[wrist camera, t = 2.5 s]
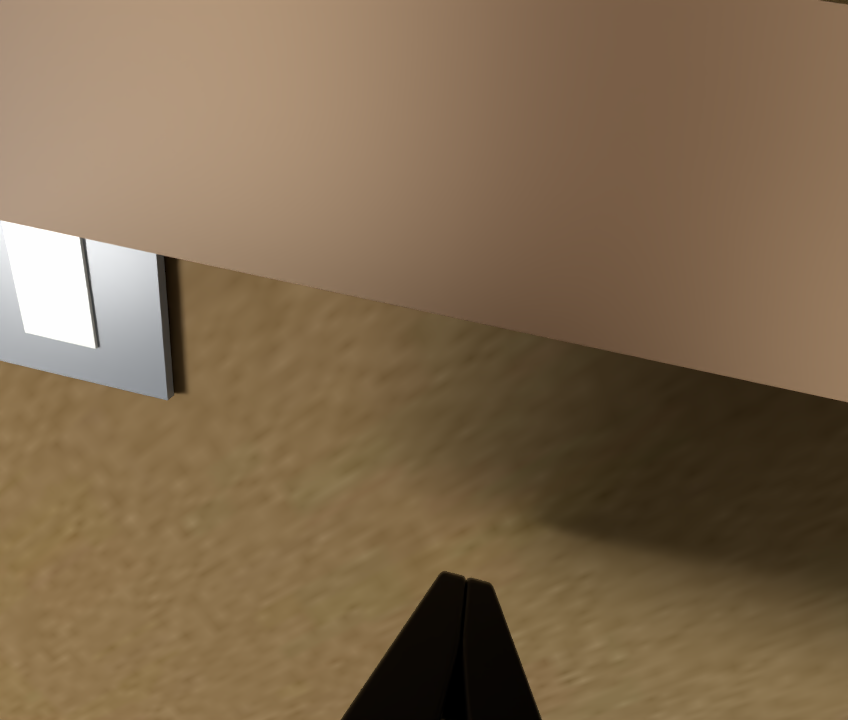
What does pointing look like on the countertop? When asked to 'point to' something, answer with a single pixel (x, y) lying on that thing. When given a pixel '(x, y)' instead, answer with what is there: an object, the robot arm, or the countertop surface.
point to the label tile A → (84, 310)
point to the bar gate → (465, 160)
